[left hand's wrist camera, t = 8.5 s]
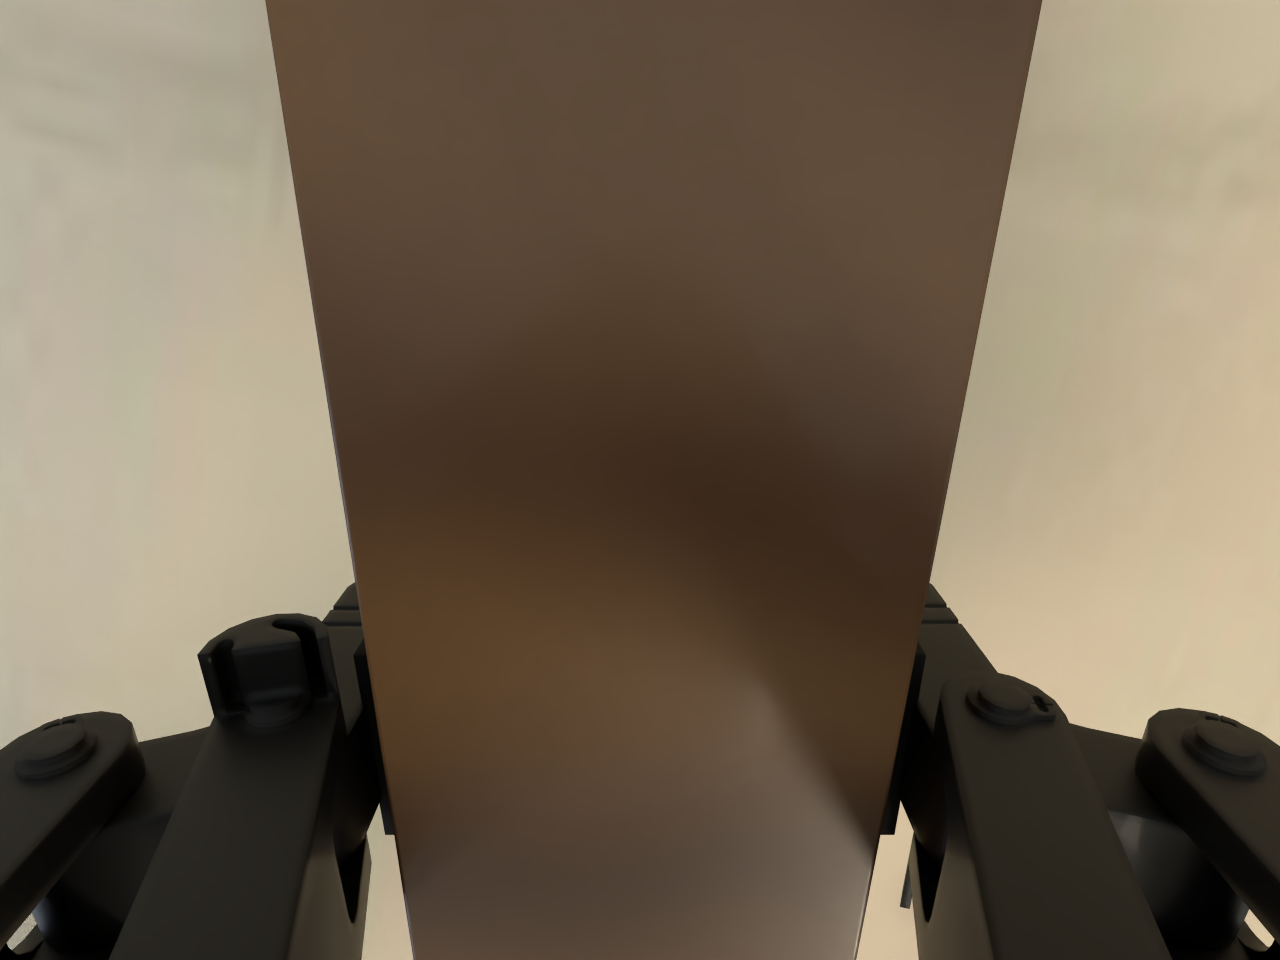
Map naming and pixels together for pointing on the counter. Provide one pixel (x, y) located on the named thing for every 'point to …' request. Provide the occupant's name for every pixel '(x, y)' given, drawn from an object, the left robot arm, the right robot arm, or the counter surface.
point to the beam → (645, 436)
